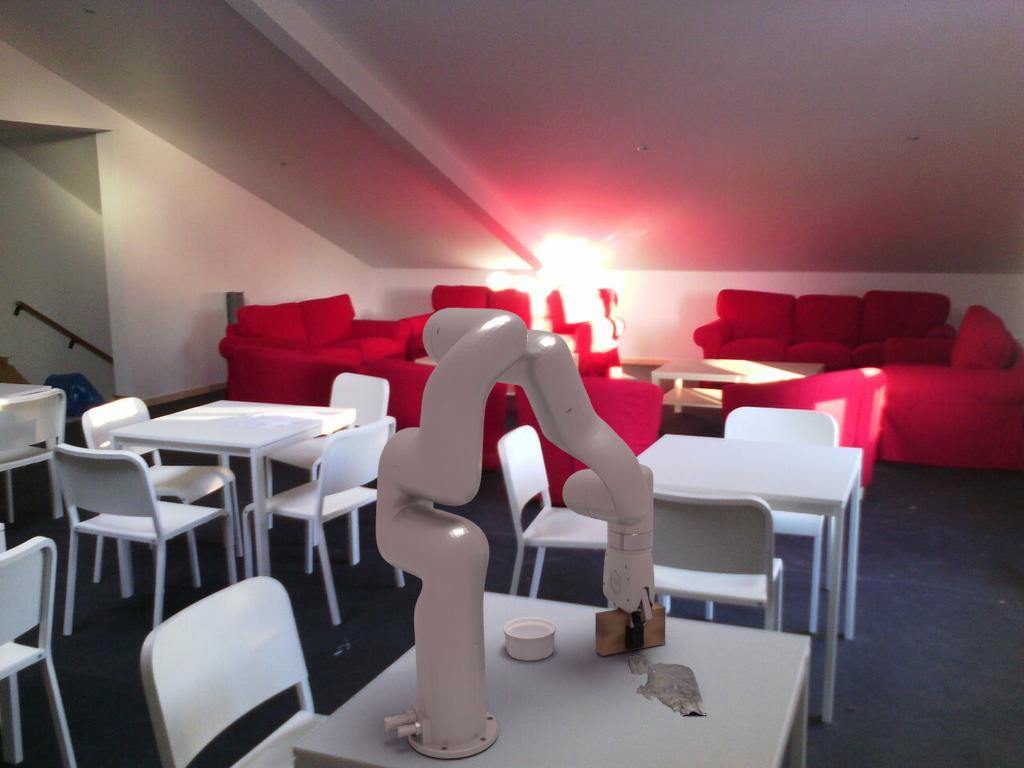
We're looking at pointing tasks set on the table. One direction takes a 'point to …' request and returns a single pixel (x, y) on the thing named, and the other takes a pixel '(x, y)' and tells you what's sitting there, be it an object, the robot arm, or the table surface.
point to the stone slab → (669, 685)
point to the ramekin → (529, 638)
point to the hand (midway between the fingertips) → (629, 643)
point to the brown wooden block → (613, 630)
